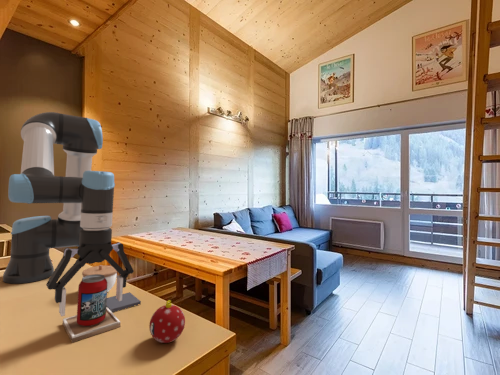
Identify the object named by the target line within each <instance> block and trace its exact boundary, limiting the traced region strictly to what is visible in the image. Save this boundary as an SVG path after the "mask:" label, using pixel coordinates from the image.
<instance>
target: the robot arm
mask: <svg viewBox="0 0 500 375" xmlns="http://www.w3.org/2000/svg"><path fill="white" fill-rule="evenodd" d="M20 137H21V139H22V141H23V147H22V148H23V149H22V156H21V166H20V167H21V168H20V173H14V174H11V175H10V176H9V179H8V196H7V197H8V201H10V202H11V203H19V204H21V203H22V204H63V206H62V211H61V212H60V213H58V216H57V218H56V219H54V218H52V216H50V215H40V216H39V215H38V216H31V217H25V218H23V217H22V218H20V219H16V220H15V221H14V222H13V223H12V226H11V232H10V235H11V242H10V245H11V246H10V259H9V261H8V263H7V266H6V268H5V270H4V271H3V275H2V276H3V277H2V282H4V283H6V284H26V283H32V282H33V283H34V282H38V281H42V280H45V279H48V278H49V279H48V280H47V282H46V284H45V285H46V288H47V289H48V290H49V291H51V290H54V301H55V303H56V304H58V305H59V309H58V313H59V315H60V317H64V316H66V303H67V302H66V299H67V289H66V285H67V284H68V283H69V282H70V281H71V280H72V279H73V277H74V276H75V275H76V274H77V273H79V271H80V270H81V269H82V268H83V267H84V266H86V264H90V265H92V264H95V263H102V262H104V261H106V262H107V263H108V264H109V266H112V267H113V268H114V269H115V270H116V271H117V274H119V275H117V277H116V289H115V290H116V292H115V296H116V299H117V300H119V301H122V294H123V290H124V289H125V288H126V287H127V278H128V277H129V275H130V274H134V271H135V270H134V268H133V266H132V264H131V263H130V260H129V258H128V257H127V254H126V252H125V250H124V249H125V248H124V244H123V243H121V242H115V243H114V244H112V239H113V238H112V236H113V235H112V234H113V229H112V228H111V227H112V226H113V213H114V210H113V209H114V195H115V186H116V183H115V174H114V172H111V171H102V170H101V171H100V170H92V165H93V157H94V156H96V155H97V154H98V150H102V149H103V141H104V140H103V139H104V138H103V137H104V136H103V130H102V126H101V123H100V122H99V121H98V120H97V119H93V118H90V117H83V116H78V115H77V116H76V115H71V114H70V115H69V114H67V113H66V114H64V113H59V112H55V111H45V112H42V113H38V114H36V115H33V116H31V117H29V118H28V119H26V120H25V122H24V123H23V124H22V126H21V129H20ZM54 145H60V146H61V145H62V150H63V151H64V153H66V164H65V165H66V166H65V176H62V175H61V176H60V175H59V176H58V175H55V162H54V161H55V160H54V159H55V158H54ZM70 247H77V248H70ZM58 248H63V255H62V257H61V259H60V261H59V262H58V264H57V266H56V268H55V267H54V265H53V262H52V259H51V256H50V249H58ZM113 250H114V251H115V252H116V253H117V255H118V257H119V259H120V261H121V262H122V264H123V266H124V269H125V270H124V269H123V268H122V267H121V266H120V265H119V264H118V262H116V261H115V260H114V258H112V256H111V255H110V253H111V252H112V251H113ZM76 254H77V255H78V256H79V257H78V258H77V259H76V261H75V263H74V264H72V266H70V267H69V269H68V270H67V271H66V272H65V274H63V273H64V271H65V269H66V268H67V266H68V264H69V263H70V261H71V260H72V258H74V256H75V255H76ZM61 276H62V277H61Z"/></svg>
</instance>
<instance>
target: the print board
mask: <svg viewBox="0 0 500 375" xmlns="http://www.w3.org/2000/svg"><path fill="white" fill-rule="evenodd" d="M62 326H63V327H64V329H65V332H66V333H67V335H68V337H69V339H70V341H71V343H75V342H78V340H79V341H81V340H84V339H87V338H91V337H94V336H97V335H99V334H103V333H105V332H108V331H112V330H115V329H118V328H121V321H120V319H119V318H118V317H117V316H116V315H115V314H114V312H111V311H110V310H109V308H108V307H106V317H105V319H104V320H103V321H101V322H100V323H98V324H96V325H94V326H87V327H86V326H82V325H79V324H78V323H77V314H75V315H73V316H69V317H64V318H62Z"/></svg>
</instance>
